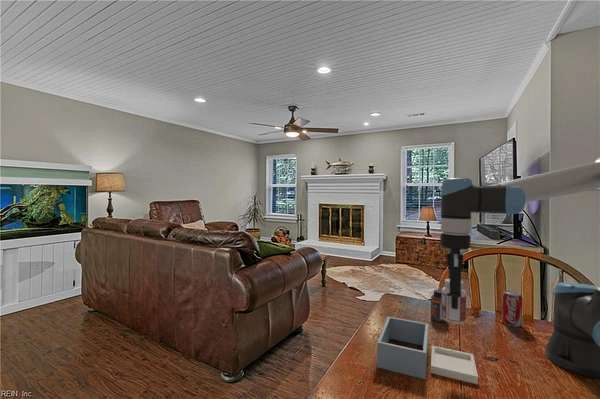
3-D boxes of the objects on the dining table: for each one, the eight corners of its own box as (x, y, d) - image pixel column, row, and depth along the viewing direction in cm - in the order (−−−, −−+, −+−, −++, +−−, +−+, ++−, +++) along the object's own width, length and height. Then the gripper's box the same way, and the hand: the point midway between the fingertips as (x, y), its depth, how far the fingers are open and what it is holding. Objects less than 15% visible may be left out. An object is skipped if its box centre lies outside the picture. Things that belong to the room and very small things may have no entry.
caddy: (427, 345, 95) (428, 323, 94) (425, 379, 77) (426, 353, 77) (387, 336, 100) (388, 316, 100) (376, 367, 82) (377, 342, 82)
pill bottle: (470, 321, 82) (471, 282, 82) (458, 326, 78) (459, 285, 78) (448, 313, 87) (449, 276, 87) (436, 318, 84) (437, 279, 83)
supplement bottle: (427, 317, 117) (427, 289, 116) (439, 315, 118) (439, 287, 118) (438, 323, 111) (438, 294, 111) (450, 321, 113) (451, 292, 113)
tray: (472, 360, 86) (473, 354, 86) (477, 384, 75) (478, 376, 75) (431, 351, 91) (431, 345, 91) (430, 372, 80) (431, 365, 80)
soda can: (502, 319, 116) (502, 289, 115) (522, 323, 112) (523, 292, 112) (500, 324, 111) (501, 293, 111) (521, 329, 107) (522, 296, 107)
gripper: (440, 229, 93) (438, 301, 93) (440, 236, 75) (438, 325, 76) (467, 230, 89) (465, 306, 90) (474, 238, 72) (472, 332, 72)
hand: (453, 314), depth 83 cm, fingers closed on pill bottle, 6 cm apart
